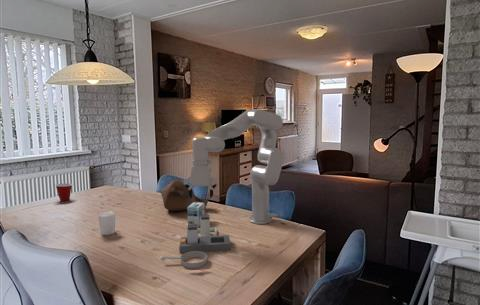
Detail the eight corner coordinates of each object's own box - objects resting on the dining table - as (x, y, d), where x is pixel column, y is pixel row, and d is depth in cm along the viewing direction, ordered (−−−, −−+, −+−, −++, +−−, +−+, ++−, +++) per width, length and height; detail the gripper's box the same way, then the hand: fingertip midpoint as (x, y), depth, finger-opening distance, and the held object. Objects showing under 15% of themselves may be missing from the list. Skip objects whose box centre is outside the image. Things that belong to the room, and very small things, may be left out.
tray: (216, 232, 159) (216, 227, 159) (217, 240, 149) (216, 235, 148) (194, 233, 158) (194, 228, 158) (193, 241, 147) (193, 236, 147)
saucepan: (206, 271, 120) (206, 261, 120) (159, 272, 119) (159, 263, 119) (208, 258, 131) (208, 249, 130) (165, 259, 130) (165, 250, 130)
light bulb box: (199, 227, 167) (198, 207, 166) (187, 226, 168) (186, 207, 167) (205, 220, 177) (204, 202, 176) (194, 219, 179) (193, 201, 177)
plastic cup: (76, 200, 222) (75, 183, 221) (59, 203, 214) (58, 186, 213) (70, 197, 230) (69, 181, 228) (54, 200, 222) (52, 184, 220)
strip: (229, 243, 146) (228, 233, 145) (230, 252, 136) (230, 242, 135) (181, 245, 143) (181, 236, 143) (179, 255, 134) (179, 245, 133)
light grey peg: (198, 245, 141) (197, 223, 140) (197, 249, 137) (197, 227, 136) (188, 245, 141) (187, 224, 140) (187, 249, 136) (186, 228, 135)
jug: (155, 214, 189) (203, 222, 189) (157, 185, 183) (207, 193, 183) (164, 198, 208) (208, 206, 208) (167, 172, 202) (212, 179, 202)
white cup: (119, 230, 163) (118, 212, 161) (108, 236, 155) (107, 217, 154) (107, 229, 165) (106, 211, 164) (96, 234, 158) (94, 215, 156)
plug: (210, 233, 156) (209, 214, 155) (210, 237, 151) (209, 217, 150) (200, 234, 155) (200, 214, 154) (200, 237, 151) (200, 217, 150)
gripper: (218, 161, 155) (219, 195, 157) (184, 161, 154) (184, 195, 156) (218, 164, 147) (218, 199, 149) (181, 164, 147) (182, 199, 149)
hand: (201, 197), depth 153 cm, fingers open, 9 cm apart
